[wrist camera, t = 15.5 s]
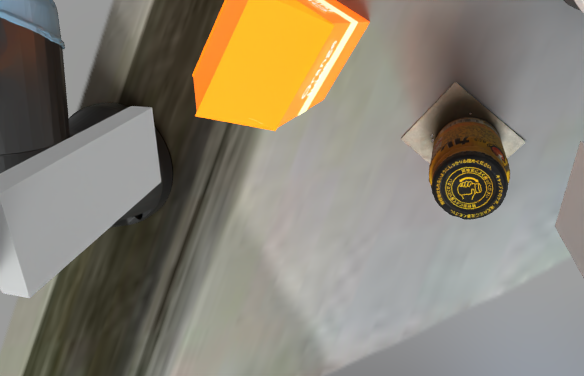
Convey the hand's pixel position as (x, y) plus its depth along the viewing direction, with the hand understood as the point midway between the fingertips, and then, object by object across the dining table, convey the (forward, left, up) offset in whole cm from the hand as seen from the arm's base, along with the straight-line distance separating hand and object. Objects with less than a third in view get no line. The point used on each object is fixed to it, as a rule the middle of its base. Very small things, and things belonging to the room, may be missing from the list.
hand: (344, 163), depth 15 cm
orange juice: (-11, 0, -33) cm, 34 cm away
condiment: (+5, -6, -33) cm, 33 cm away
